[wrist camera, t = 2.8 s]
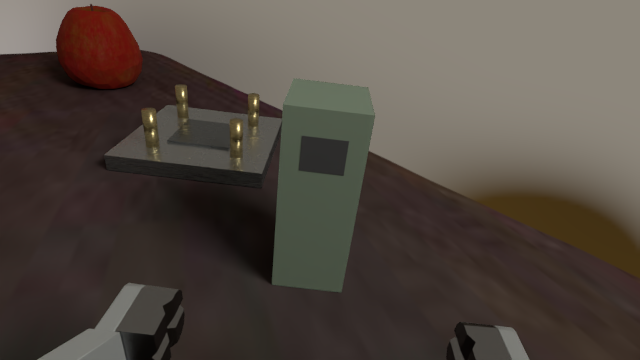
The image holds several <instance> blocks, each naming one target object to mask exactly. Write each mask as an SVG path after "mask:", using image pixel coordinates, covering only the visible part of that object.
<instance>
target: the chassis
mask: <svg viewBox="0 0 640 360" xmlns="http://www.w3.org/2000/svg"><path fill="white" fill-rule="evenodd" d="M175 91H176V104H177V106H171V105H167V106H165V107H164V108H163V109H162V110H160V111H159V112H158V113H157V114H156V109H154V108H144V109H142V110H141V112H142V120H143V125H141V126H140V127H139V128H138V129H136V130H135V131H134V132H133V133H131V134H130V135H129V136H127V137H126V138H125V139H124V140H122V141H121V142H120V143H119V144H117V145H116V146H115V147H113V148H112V149H111V150H110V151H108V152H107V153H106V154H105V155H104V158H105V163H106V168H107V170H112V171H120V172H129V173H137V174H146V175H154V176H163V177H171V178H180V179H188V180H197V181H205V182H214V183H222V184H231V185H239V186H248V187H256V188H262V185H263V182H264V179H265V177H266V174H267V171H268V168H269V165H270V163H271V160H272V157H273V154H274V151H275V148H276V146H277V143H278V140H279V137H280V134H281V131H282V119H279V118H270V117H262V116H259V95H258V94H255V93H252V94H248V115H246V114H237V113H229V112H221V111H213V110H204V109H196V108H188V97H187V86H186V85H175Z"/></svg>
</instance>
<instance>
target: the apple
mask: <svg viewBox="0 0 640 360" xmlns="http://www.w3.org/2000/svg"><path fill="white" fill-rule="evenodd" d="M56 48H57V54H58V59H59V62H60V64H61V65H62V67H63V69H64V70H65V72H66V73H67V75H68V76H69V77H70V78H71V79H73V80H74V81H75V82H76V83H79V84H82V85H85V86H89V87H94V88H98V89H117V88H121V87H125V86H128V85H130V84H132V83H134V82H135V81H136V80H137V78H138V76H139V74H140V73H141V69H142V56H141V53H140V49H139V46H138V43H137V42H136V40H135V38H134V37H133V35H132V33H131V31H130V30H129V28H128V26H127V25H126V23H125V22H124V21H123V20H122V18H121V17H120V16H119V15H118V14H117V13H115V12H114V11H113V10H111V9H108V8H104V7H99V6H92V4H91V5H90V6H87V7H76V8H72V9H71V10H70V11H68V12H67V14H66V15H65V17H64V19H63V20H62V23H61V25H60V28H59V31H58V35H57V39H56Z"/></svg>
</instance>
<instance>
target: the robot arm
mask: <svg viewBox="0 0 640 360" xmlns="http://www.w3.org/2000/svg"><path fill="white" fill-rule="evenodd" d="M182 299H183V296H182V291H181V290H177V289H170V288H163V287H156V286H149V285H141V284H133V283H128V284H127V285H125V286H124V287H123V288H122V290H121V291H120V293H119V294H118V295H117V297H116V298H115V300H114V301H113V303H112V304H111V306H110V307H109V308H108V310H107V311H106V313H105V314H104V316H103V317H102V319H101V320H100V321H99V323H98V324H97V326H96V327H95V329H87V330H86V331H84V332H83V333H81V334H79V335H78V336H76V337H74V338H73V339H71V340H69V341H68V342H66V343H64V344H63V345H61V346H59V347H58V348H56V349H54V350H53V351H51V352H49V353H48V354H46V355H44V356H43V357H41V358H39V359H38V360H170V358H171V351H170V348H171V347H172V346H173V345H175V344H176V343H177V342H178V340H179V338H180V335H181V333H182V329H183V325H184V316H185V315H184V309H183V308H182V307H181V306H180V304H181V302H182ZM454 331H455V334H456V337H455V338H453V339H451V340H450V342H449V344H448V347H447V356H446V359H447V360H529V358H528V356H527V354H526V352H525V350H524V348H523V346H522V344H521V342H520V340H519V338H518V336H517V334H516V332H515V330H514V329H513V328H511V327H502V326H493V325H485V324H476V323H466V322H459V323H458V324H457V325H456V327H455V330H454Z"/></svg>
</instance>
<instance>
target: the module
mask: <svg viewBox="0 0 640 360" xmlns="http://www.w3.org/2000/svg"><path fill="white" fill-rule="evenodd" d="M374 118H375V113H374V109H373V105H372V101H371V97H370V93H369V89H368V87H360V86H352V85H344V84H335V83H327V82H319V81H310V80H302V79H294V80H293V82H292V84H291V87H290V89H289V92H288V94H287V96H286V99H285V101H284V104H283V115H282V131H281V146H280V162H279V178H278V194H277V209H276V225H275V241H274V257H273V272H272V285H279V286H288V287H297V288H306V289H315V290H324V291H332V292H341V291H342V286H343V281H344V276H345V270H346V265H347V260H348V255H349V250H350V244H351V239H352V234H353V229H354V223H355V218H356V213H357V208H358V202H359V197H360V192H361V187H362V182H363V176H364V171H365V166H366V161H367V155H368V150H369V145H370V140H371V134H372V129H373V124H374Z"/></svg>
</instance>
